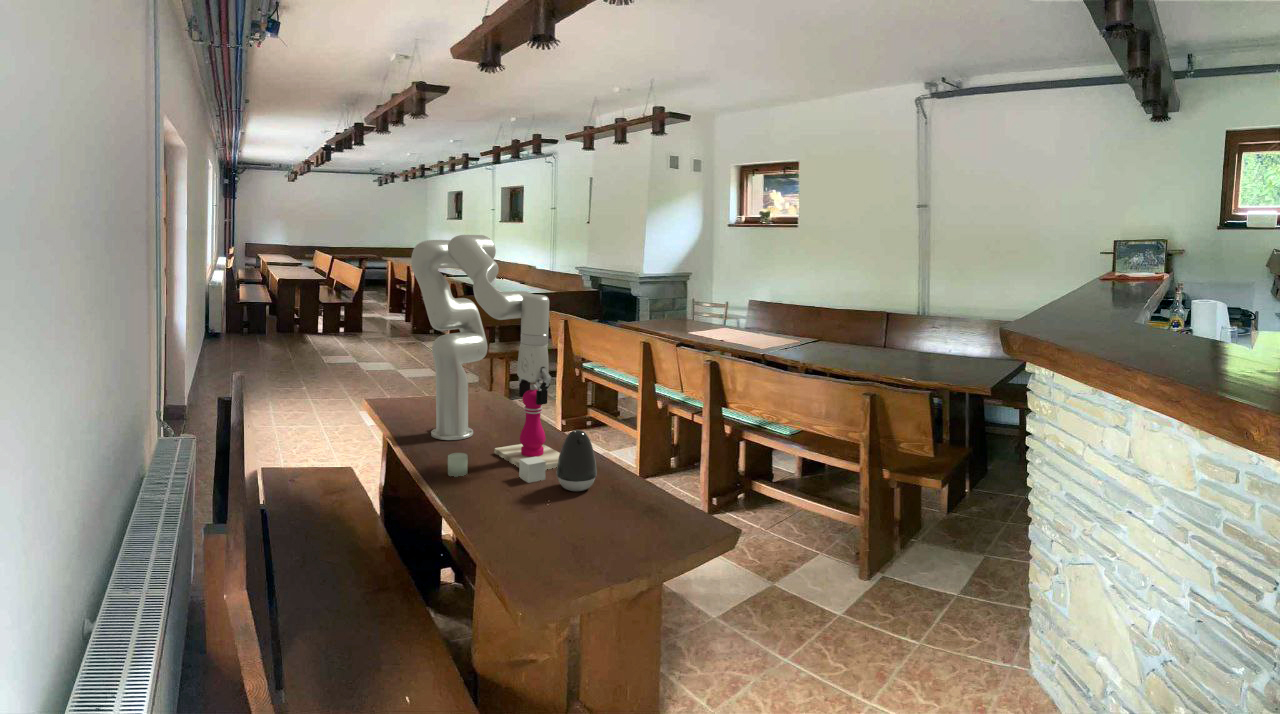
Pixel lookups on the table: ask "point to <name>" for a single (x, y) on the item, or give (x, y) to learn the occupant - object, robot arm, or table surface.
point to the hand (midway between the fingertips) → (532, 400)
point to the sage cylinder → (457, 464)
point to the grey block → (532, 469)
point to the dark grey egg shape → (576, 462)
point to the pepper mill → (532, 426)
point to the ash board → (515, 454)
